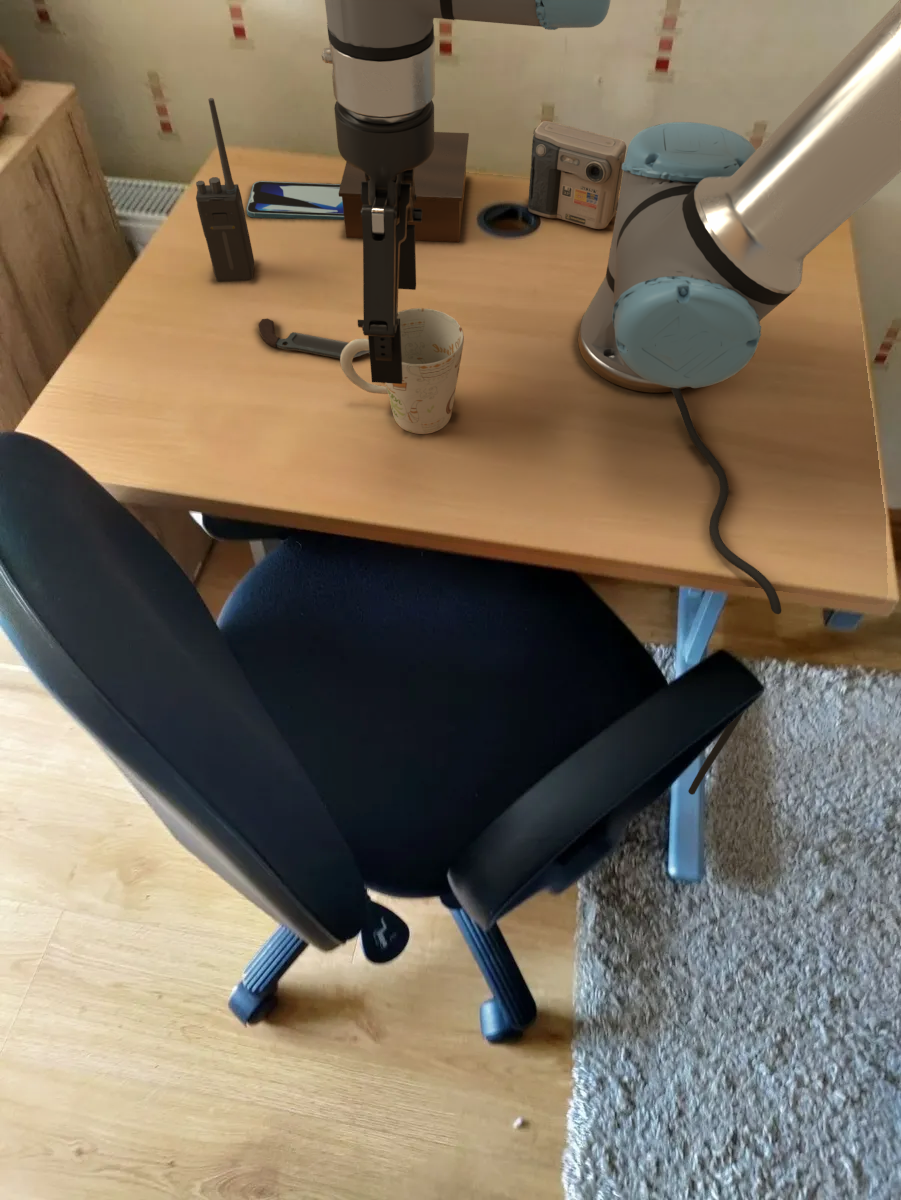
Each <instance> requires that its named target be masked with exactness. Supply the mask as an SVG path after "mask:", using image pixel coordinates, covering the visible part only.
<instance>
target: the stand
mask: <svg viewBox="0 0 901 1200" xmlns="http://www.w3.org/2000/svg"><path fill="white" fill-rule="evenodd" d="M469 139H470V133H469V132H449V131H448V132H446V131H434V149H433V152H432V154H431V155H430V157H429V158H428V159H427V160H426V161H425V162H424V163H423V164H421V165H420V166H418V167H416V168H414V182H415V192H416V194H417V200H416V201H415V204H413V206H414V208H422V222H409V225H415V241H420V242H421V241H423V242H424V241H425V242H446V243H447V242H448V243H449V242H450V243H459V242H460V237H461V229H462V228H461V227H462V220H463V210H464V209H463V208H464V200H465V199H464V198H465V191H466V181H467V157H468V150H469V149H468V148H469ZM362 181H366V180H365V172H363V171H362V170H360V169H358V168H356V167H354V166H352V165H350V164H349V163H348V162H346V161H345V166H344V170H343V173H342V178H341V182H340V184H341V185H340V189H339V197H342V202H343V211H344V220H343V221H344V229H345V237H346V238H350V239H351V238H352V239H363V227H362V217H361V210H362V205H363V203H362V201H361V182H362Z"/></svg>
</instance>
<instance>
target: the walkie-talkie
mask: <svg viewBox="0 0 901 1200" xmlns="http://www.w3.org/2000/svg"><path fill="white" fill-rule="evenodd" d="M208 104H209V109H210V115H211V119H212V124H213V130H214V135H215V139H216V144H217V149H218V156H219V160H220V165H221V170H222V174H223V175H222V176H223V180H224V184H222V183H221V179H220V178H219V177H218V176H212V177H210V178H209V179H208V183H209V184H206V183H205V181H204V180H197V181H196V183H195V185H196V189H197V191H196V196H195V200H196V208H197V211H198V215H199V219H200V223H201V228H202V232H203V236H204V238H205V241H206V245H207V250H208V253H209V258H210V261H211V265H212V269H213V275H214V277H215V280H216V281H217V282H237V281H239V282H240V281H253V278H254V277H253V276H254V269H255V257H254V251H253V248H252V243H251V238H250V233H249V228H248V222H247V218H246V213H245V209H244V204H243V199H242V193H241V190H240V187H239V184H237V183H234V180H233V176H232V172H231V168H230V162H229V158H228V154H227V150H226V145H225V141H224V138H223V137H224V136H223V132H222V129H221V128H222V127H221V124H220V119H219V116H218V111H217V106H216V102H215V98H214V97H210V98H208Z"/></svg>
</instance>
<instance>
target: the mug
mask: <svg viewBox="0 0 901 1200" xmlns="http://www.w3.org/2000/svg"><path fill="white" fill-rule="evenodd" d="M397 318H398V319H400V329H401V353H402V377H403V379H402V384H395V383H384V384H385V386H384V385H379V384H373V383H370V382H368V381H366V380H365V379H363V378H362V377H361V376H360V375H359V374H358V372H357V371H356V370H355V367H354V364H353V360H354V359H355V358H354V356H355V355H356V354H357V353H358V352H359V351H363V350H368V351H369V339H368V338H355V339H353V340H351V341H350V342H348V344H347V345H346V346H345V348H344V349H343V351H342V353H341V357H340V358H339V363H340V368H341V371H342V372H343V374H344V375H345V377H346V379H348V380H349V381H350V382H351V383H352V384H354V385H355V386H357V387H358V388H360V389H361V390H363V391H365V392H367V393H371V394H378V395H388V400H389V404H390V408H391V411H392V415H393V419H394V421H395V423H396V424H397V425H398V426H399V427H400V428H401V429H402V430H405V431H406V432H408V433H411V434H416V435H427V434H432V433H435V432H438V431H440V430H441V429H444V428H445V427H446V426H447V425H448V423H449V422H450V420H451V418H452V413H453V408H454V402H455V397H456V390H457V385H458V378H459V373H460V367H461V361H462V355H463V350H464V349H463V348H464V342H465V341H464V340H465V339H464V337H465V336H464V331H463V328H462V326H461V325H460V323H459V321H457V320H456V319H455V318H454V317H453V316H451V315H449V314H448V313H445V312H443V311H441V310H436V309H433V308H424V307H417V308H407V309H404V310H401V311H398V315H397Z"/></svg>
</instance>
